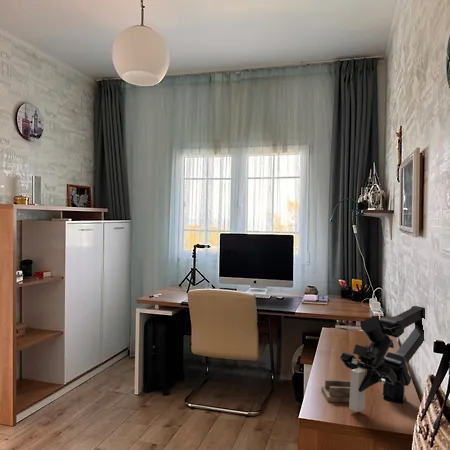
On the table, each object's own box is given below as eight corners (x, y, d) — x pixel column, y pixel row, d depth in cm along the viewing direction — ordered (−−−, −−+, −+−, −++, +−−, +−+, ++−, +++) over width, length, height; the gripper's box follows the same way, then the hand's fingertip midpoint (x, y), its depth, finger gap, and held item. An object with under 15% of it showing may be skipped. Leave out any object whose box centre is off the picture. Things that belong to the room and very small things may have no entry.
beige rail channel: (351, 391, 156) (352, 379, 156) (359, 402, 147) (360, 389, 147) (321, 390, 156) (321, 378, 156) (327, 401, 147) (328, 388, 147)
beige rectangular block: (356, 405, 141) (358, 367, 141) (364, 409, 139) (366, 370, 139) (349, 408, 139) (350, 370, 139) (356, 412, 137) (358, 373, 136)
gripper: (344, 328, 148) (321, 366, 142) (393, 342, 133) (370, 385, 127) (357, 348, 153) (336, 384, 147) (406, 363, 138) (384, 405, 132)
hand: (355, 389), depth 138 cm, fingers closed on beige rectangular block, 3 cm apart
